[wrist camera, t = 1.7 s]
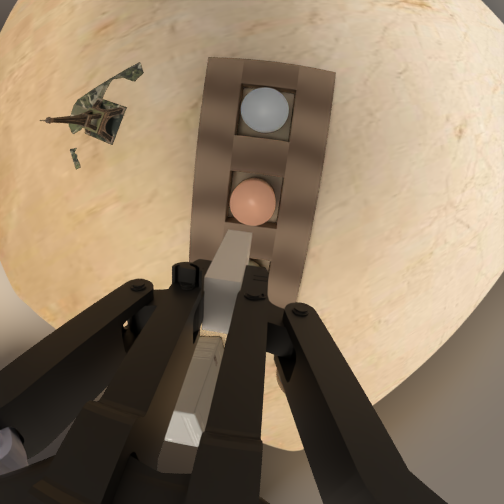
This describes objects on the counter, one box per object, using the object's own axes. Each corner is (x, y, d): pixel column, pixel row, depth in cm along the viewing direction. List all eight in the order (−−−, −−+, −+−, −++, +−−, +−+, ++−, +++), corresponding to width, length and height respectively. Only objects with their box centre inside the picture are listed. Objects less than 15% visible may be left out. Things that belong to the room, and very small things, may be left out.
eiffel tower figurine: (143, 60, 28) (85, 33, 16) (164, 126, 32) (107, 122, 19) (62, 112, 31) (-4, 114, 19) (79, 171, 34) (14, 190, 22)
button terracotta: (236, 175, 32) (232, 178, 29) (278, 180, 32) (278, 184, 29) (231, 215, 33) (227, 222, 31) (272, 221, 33) (271, 228, 31)
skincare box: (229, 371, 45) (213, 450, 30) (188, 370, 46) (164, 443, 31) (222, 333, 42) (200, 417, 27) (177, 332, 43) (143, 409, 28)
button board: (213, 62, 28) (208, 57, 26) (331, 77, 28) (335, 72, 25) (192, 300, 40) (188, 310, 38) (289, 315, 40) (290, 325, 37)
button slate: (246, 90, 28) (243, 85, 25) (289, 95, 28) (291, 90, 25) (241, 130, 30) (238, 129, 27) (284, 135, 30) (285, 135, 27)
